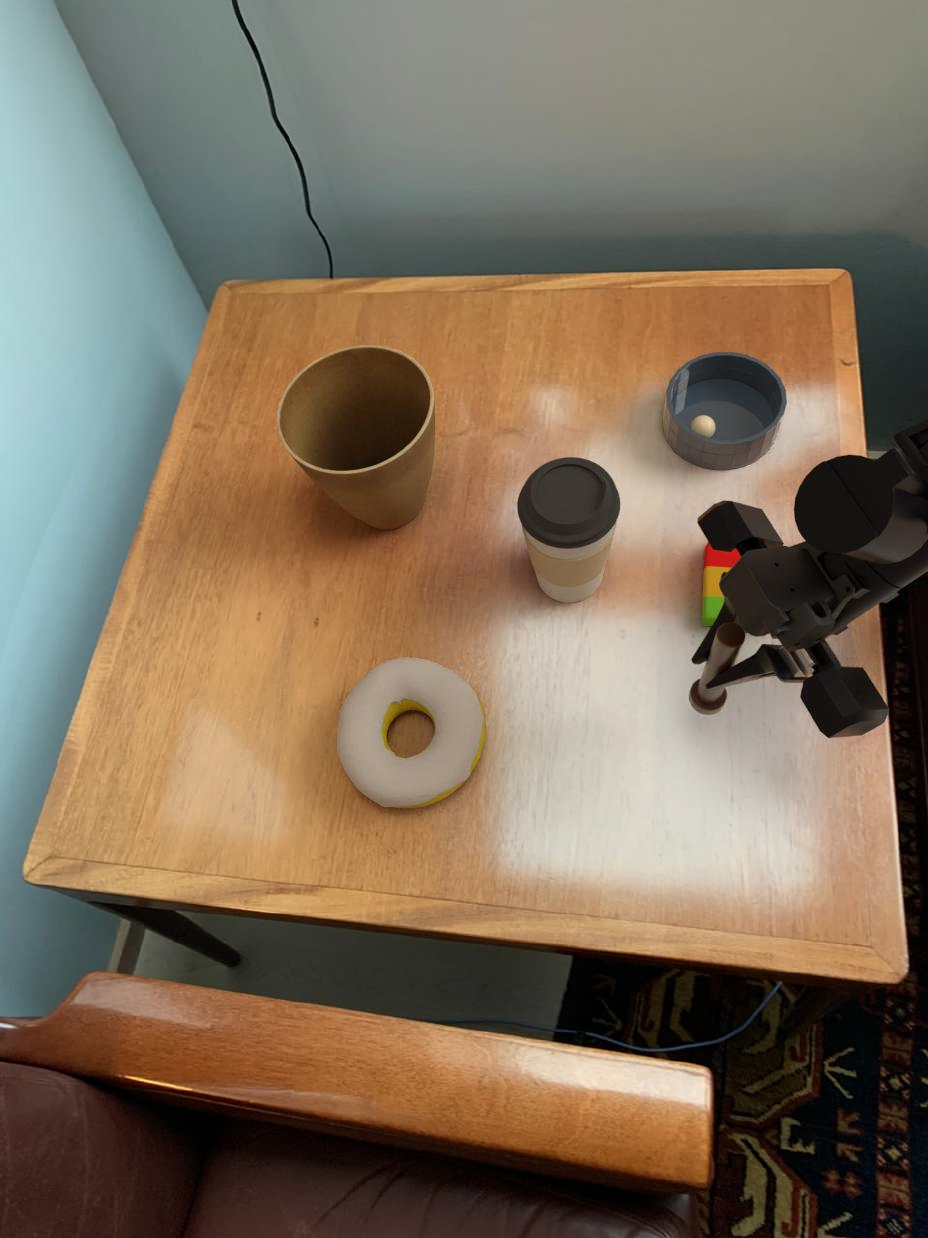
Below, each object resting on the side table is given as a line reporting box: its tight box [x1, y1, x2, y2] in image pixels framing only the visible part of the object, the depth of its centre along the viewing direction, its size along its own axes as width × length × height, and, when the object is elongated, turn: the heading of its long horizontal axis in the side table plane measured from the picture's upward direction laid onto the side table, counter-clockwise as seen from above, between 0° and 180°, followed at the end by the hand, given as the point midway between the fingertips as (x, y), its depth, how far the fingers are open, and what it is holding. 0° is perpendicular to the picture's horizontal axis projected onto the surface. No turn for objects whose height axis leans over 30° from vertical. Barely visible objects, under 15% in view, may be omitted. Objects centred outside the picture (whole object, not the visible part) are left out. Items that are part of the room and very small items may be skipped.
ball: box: [690, 415, 715, 438], centre depth 91 cm, size 3×3×3 cm
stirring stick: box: [688, 622, 746, 716], centre depth 67 cm, size 3×3×13 cm
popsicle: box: [701, 541, 741, 665], centre depth 83 cm, size 6×15×2 cm, turn 172°
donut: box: [336, 656, 487, 809], centre depth 80 cm, size 14×14×5 cm
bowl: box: [662, 351, 788, 471], centre depth 91 cm, size 12×12×4 cm
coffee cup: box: [516, 456, 621, 604], centre depth 81 cm, size 9×9×15 cm
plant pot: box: [276, 344, 436, 531], centre depth 87 cm, size 15×15×16 cm
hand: (701, 674), depth 67 cm, fingers closed on stirring stick, 2 cm apart
